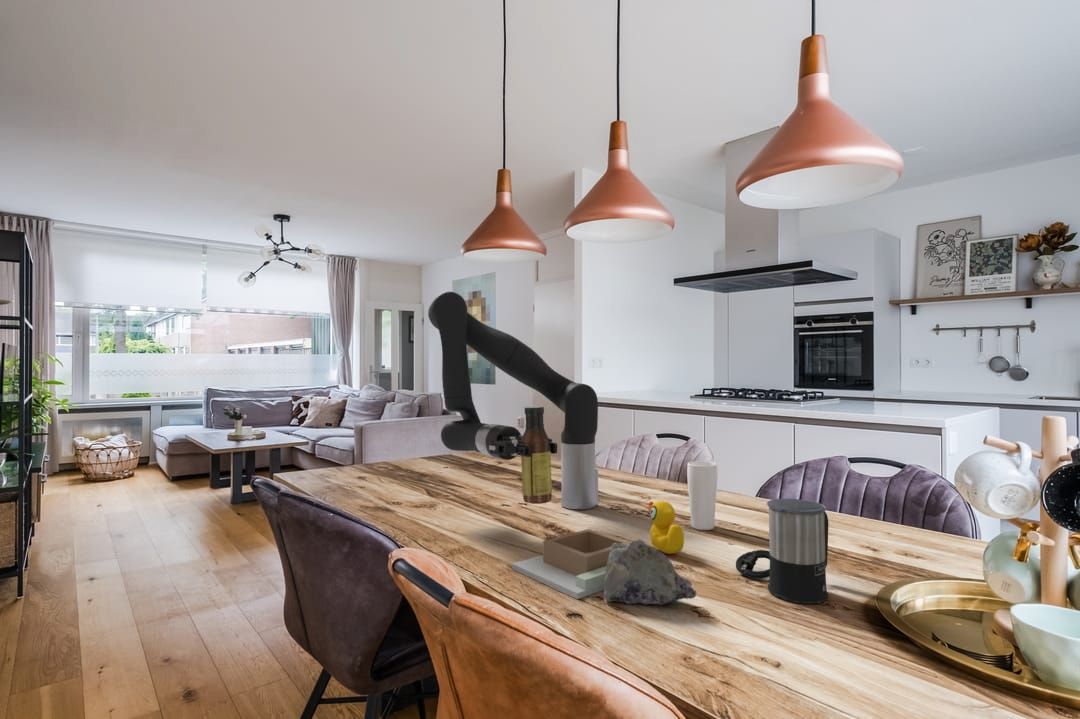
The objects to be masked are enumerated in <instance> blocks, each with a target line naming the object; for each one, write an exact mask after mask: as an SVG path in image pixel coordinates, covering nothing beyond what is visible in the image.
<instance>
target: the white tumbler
mask: <svg viewBox="0 0 1080 719" xmlns="http://www.w3.org/2000/svg"><path fill="white" fill-rule="evenodd" d="M686 468H687V470H686V473H687V474H686V475H687V476H686V477H687V479H686V480H687V491H688V501H689V512H690V514H689V515H690V526H691V528H693V529H695V530H699V531H710V530H713V529H714V528H715V524H716V523H715V522H716V520H715V517H716V504H717V490H718V489H717V488H718V465H717V463H715V462H711V461H702V460H701V461H699V460H698V461H697V460H696V461H689V462H687V467H686Z"/></svg>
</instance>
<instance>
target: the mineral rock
mask: <svg viewBox="0 0 1080 719" xmlns="http://www.w3.org/2000/svg"><path fill="white" fill-rule="evenodd" d="M630 542H631V543H629V544H628V545H625V544H620V543H614V544H613V545H612V547H611V552H610V554H609V557H608V561H607V566H606V574H605V584H604V590H603V596H604V600H605V601H607V602H616V603H617V602H619V603H626V604H629V605H630V604H638V603H640V604H642V605H650V604H651V605H656V604H657V605H665V604H667V603H671V602H673V603H676V602H677V601H679V600H683V599H689V600H690V599H694V598H696V597H697V594H698V592H697V591H696V590H695V589H694V588H693V587H692V586H693V583H692V582H691V581H690V580H689V579H688V578H686V577H684V576H682V575H680V574H679V573H678V572H677V571H676V569H675V568H674V565H673V563H672V562H671V560H669V558H668V557H667V556H666V555H665V553H664V552H662V551H660V550H658V549H656V548H655V547H654V546H651V545H649V544H647V543H646V542H644V541H643V540H641V539H638V540H633V541H630Z"/></svg>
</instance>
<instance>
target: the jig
mask: <svg viewBox="0 0 1080 719" xmlns="http://www.w3.org/2000/svg"><path fill="white" fill-rule="evenodd" d="M631 542H632V541H628V540H625V539H621V538H619V537H615V536H612V535H609V534H605V533H603V532H599V531H595V530H592V529H590V528H586V529H584V530H580V531H576V532H572V533H568V534H565V535H560V536H557V537H552V538H549V539H545V540H542V548H543V550H542V555H538V556H535V557H531V558H528V559H524V560H521V561H517V562H514V563H511V564H512V565H511V566H512V567H511V568H512V570H514V571H516V572H517V573H519V574H522V575H524V576H527V577H528V578H531V579H533V580H535V581H537V582H539V583H541V584H544V585H546V586H547V587H550V588H552V589H554V590H556V591H559V592H561V593H562V594H565V595H567V596H570V597H571V598H574V599H576V600H579V599H583V598H584V597H587V596H591V595H594V594H597V593H599V592H601V591H604V584H605V574H606V566H607V561H608V557H609V554H610V552H611V547H612V545H613V544H614V543H620V544H625V545H628V544H629V543H631Z"/></svg>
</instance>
